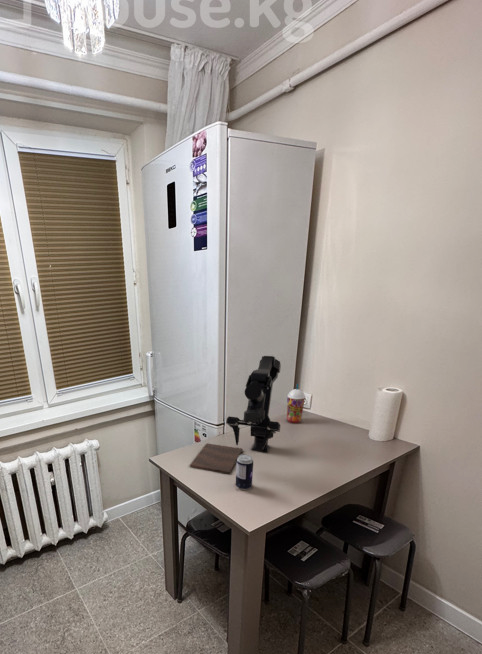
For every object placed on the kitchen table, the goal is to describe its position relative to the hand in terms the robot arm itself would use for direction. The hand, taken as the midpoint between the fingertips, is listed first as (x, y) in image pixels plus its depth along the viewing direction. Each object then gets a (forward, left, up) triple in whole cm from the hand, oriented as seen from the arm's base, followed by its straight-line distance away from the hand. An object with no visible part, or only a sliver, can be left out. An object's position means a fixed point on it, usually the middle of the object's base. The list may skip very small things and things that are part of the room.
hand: (249, 447), depth 131 cm
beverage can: (+7, 0, -13) cm, 15 cm away
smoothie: (-65, +10, -13) cm, 67 cm away
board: (-11, -15, -13) cm, 22 cm away
